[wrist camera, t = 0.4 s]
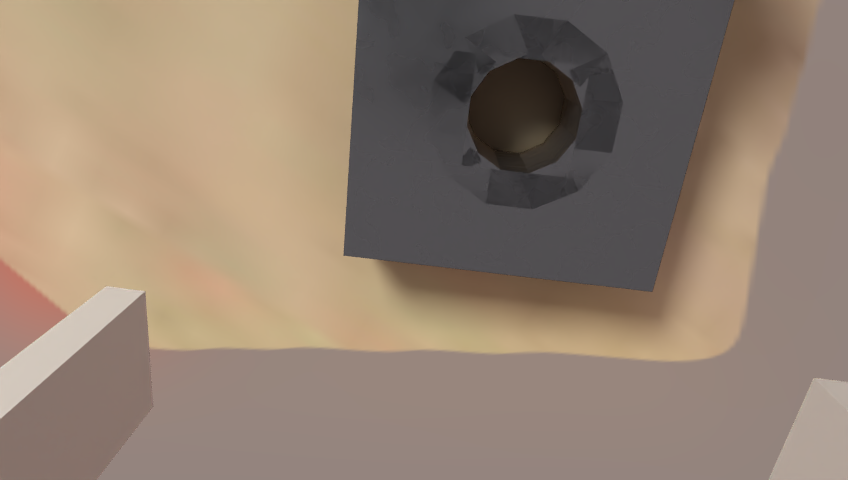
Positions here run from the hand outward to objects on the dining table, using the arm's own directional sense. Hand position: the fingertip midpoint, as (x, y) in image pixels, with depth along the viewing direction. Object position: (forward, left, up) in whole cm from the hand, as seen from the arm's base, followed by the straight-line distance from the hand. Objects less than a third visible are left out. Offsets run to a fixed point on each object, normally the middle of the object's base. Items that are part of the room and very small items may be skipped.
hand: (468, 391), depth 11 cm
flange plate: (-3, +3, -26) cm, 26 cm away
